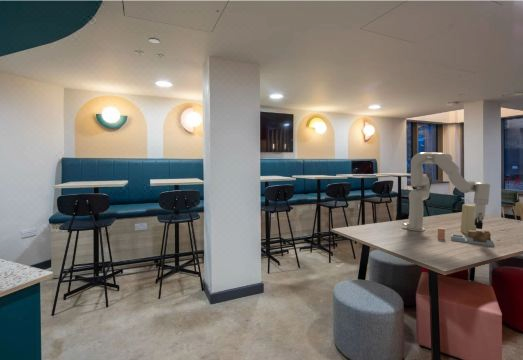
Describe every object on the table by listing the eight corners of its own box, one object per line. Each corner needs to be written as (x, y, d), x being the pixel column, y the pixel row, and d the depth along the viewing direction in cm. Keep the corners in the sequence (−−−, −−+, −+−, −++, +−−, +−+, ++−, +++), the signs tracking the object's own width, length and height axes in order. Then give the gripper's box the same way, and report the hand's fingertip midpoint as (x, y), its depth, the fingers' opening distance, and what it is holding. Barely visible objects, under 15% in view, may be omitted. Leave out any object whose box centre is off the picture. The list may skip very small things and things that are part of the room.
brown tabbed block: (467, 240, 186) (468, 229, 185) (467, 238, 190) (467, 228, 189) (490, 242, 180) (490, 232, 179) (489, 241, 184) (489, 230, 183)
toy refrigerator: (477, 234, 202) (479, 206, 201) (465, 234, 204) (467, 205, 202) (471, 231, 210) (473, 204, 208) (460, 231, 211) (462, 204, 210)
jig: (451, 240, 189) (451, 235, 189) (450, 237, 196) (451, 232, 196) (494, 246, 177) (494, 241, 176) (492, 242, 184) (492, 237, 184)
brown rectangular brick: (437, 238, 193) (438, 228, 193) (437, 237, 196) (438, 227, 196) (444, 239, 191) (445, 229, 190) (444, 238, 194) (445, 228, 194)
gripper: (472, 199, 191) (470, 223, 193) (474, 202, 177) (472, 229, 179) (486, 200, 187) (483, 225, 189) (490, 204, 173) (487, 231, 175)
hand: (478, 227), depth 184 cm, fingers open, 9 cm apart
